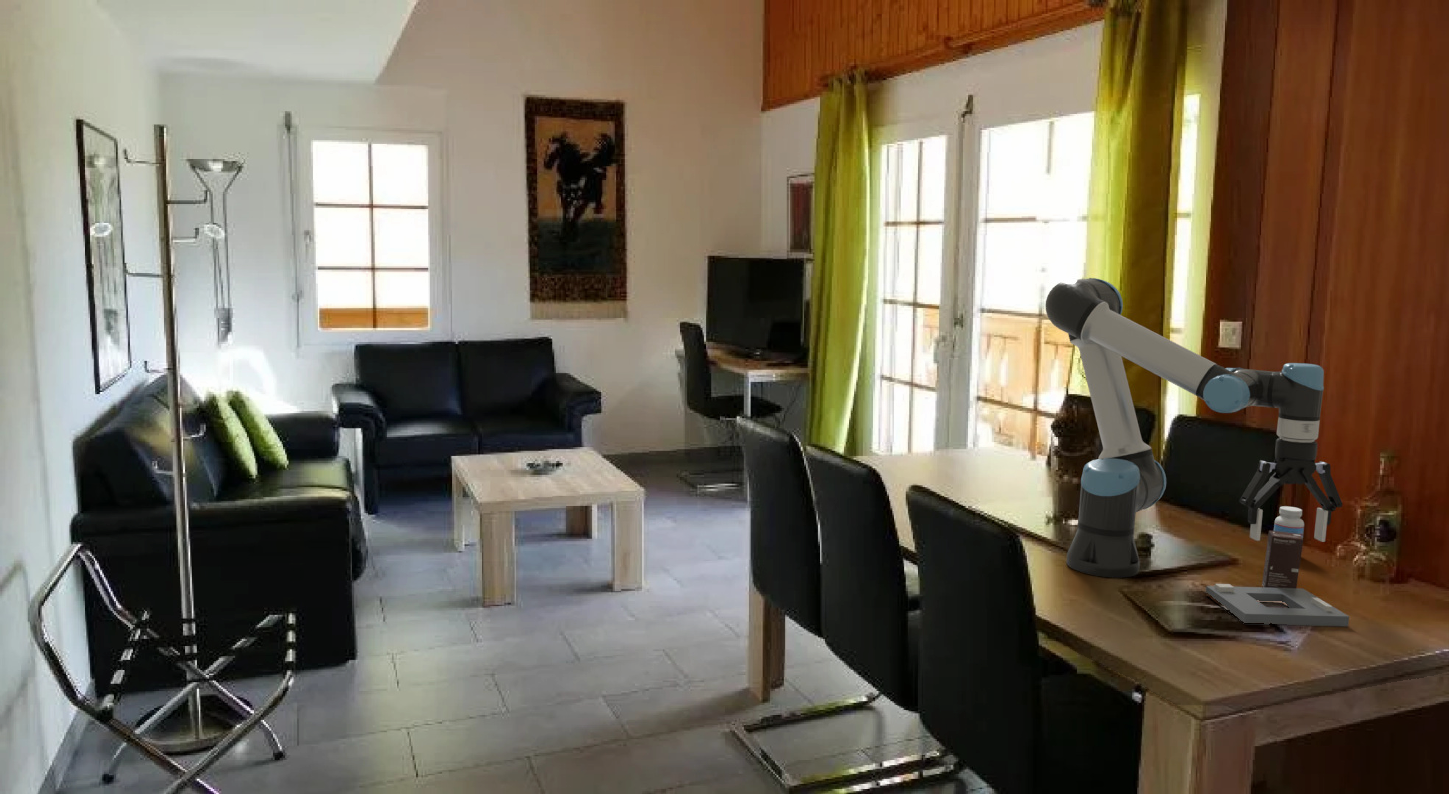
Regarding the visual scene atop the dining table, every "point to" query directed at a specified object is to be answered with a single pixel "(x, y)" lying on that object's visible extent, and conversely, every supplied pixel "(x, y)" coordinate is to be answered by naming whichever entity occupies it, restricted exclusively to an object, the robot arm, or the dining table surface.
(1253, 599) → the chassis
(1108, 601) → the dining table surface
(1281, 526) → the pill bottle
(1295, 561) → the box
